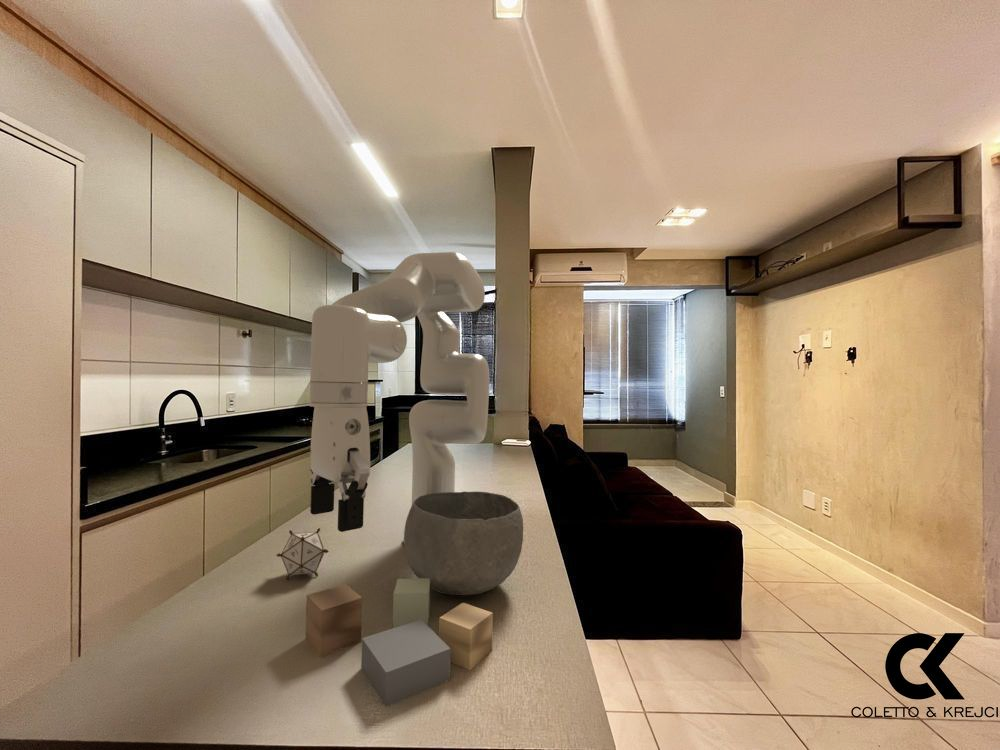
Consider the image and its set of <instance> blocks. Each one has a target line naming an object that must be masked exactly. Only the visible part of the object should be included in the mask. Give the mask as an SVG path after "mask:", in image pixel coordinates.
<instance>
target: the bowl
mask: <svg viewBox="0 0 1000 750" xmlns="http://www.w3.org/2000/svg"><path fill="white" fill-rule="evenodd" d="M523 542H524V519H523V516H522V510H521V508H520V506H519V504H518V503H517V502H516V501H515V500H513V499H512V498H510V497H508V496H506V495H503V494H499V493H495V492H494V493H493V492H487V491H476V490H475V491H461V492H459V491H455V492H443V493H431V494H426V495H423V496H420V497H418V498H417V499H416V500H415V501H414V502H413V504H412V503H411V507H410V509H409V511H408V514H407V517H406V520H405V524H404V532H403V544H404V551H405V554H406V559H407V561H408V565H409V567H410V569H411V571H412V572H413V574H414V575H415V576H416V578H430V589H432V590H435V591H436V592H439V593H442V594H448V595H453V596H472V595H473V596H474V595H478V594H482V593H485V592H488V591H491V590H493V589H495V588H496V587H498V586H499V585H501V584H503V583H504V582H505V581H506V579H508V577H510V575H511V574H512V573H513V571H514V570H515V568H516V566H517V564H518V563H519V559H520V556H521V554H522V549H523V548H522V547H523Z"/></svg>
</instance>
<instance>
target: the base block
mask: <svg viewBox="0 0 1000 750" xmlns="http://www.w3.org/2000/svg"><path fill="white" fill-rule="evenodd" d="M450 651H451V649H450V648H449V647H448V646H447V645H446V644H445V643H444V642H443V641H442V640H441V639H440V638H439V635H437V634H436V632H435V631H434V630H433V629H432V628H431V627H430V626H429V625H428V626H427V625H426V624H425V623H424V622H423V621H422V620H418V621H415V622H412V623H409V624H405V625H402V626H399V627H396V628H393V627H392V628H390V629H387V630H383V631H381V632H378V633H375V634H372V635H368V636H365V637H363V638H362V637H361V661H360V662H361V664H360V667H361V670H362V673H364V675H365V676H366V678H367V680H368V682H369V683H370V685H371V687H372V688H373V689H374V691H375V693H376V694H377V696H378V698H379V700H380V701H381V703H382V704H383V706H384V707H385V708H387V707H389V706H392V705H394V704H397V703H399V702H401V701H404V700H405V699H409V698H411V697H414V696H416V695H418V694H421V693H423V692H425V691H428V690H431V689H433V688H435V687H437V686H439V685H442V684H444V683H447V682H449V681H451V661H450Z"/></svg>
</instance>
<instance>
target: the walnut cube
mask: <svg viewBox="0 0 1000 750" xmlns="http://www.w3.org/2000/svg"><path fill="white" fill-rule="evenodd" d="M305 603H306V606H305V608H306V609H305V610H306V611H305V612H306V614H305V637H304V638H305V640H306V642H307V643H308V644H309V645H310V647H311V648H312V650H313V651H314V652H315V653H316V654H317V655H318V656H319V657H320V658H323V657H326V656H328V655H331V654H333V653H336V652H339V651H340V650H341V651H342V650H344V649H346V648H349V647H351V646H354V645H357V644H359V643H362V628H363V627H362V625H363V623H362V622H363V621H362V619H363V597H362V596H361V595H360V594H358V593H357V592H356V591H355V590H354V589H353V588H351V587H350V586H349V585H347V583H344V584H341V585H337V586H334V587H331V588H326V589H324V590H321V591H317V592H313V593H310V594H307V595H306V602H305Z"/></svg>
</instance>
